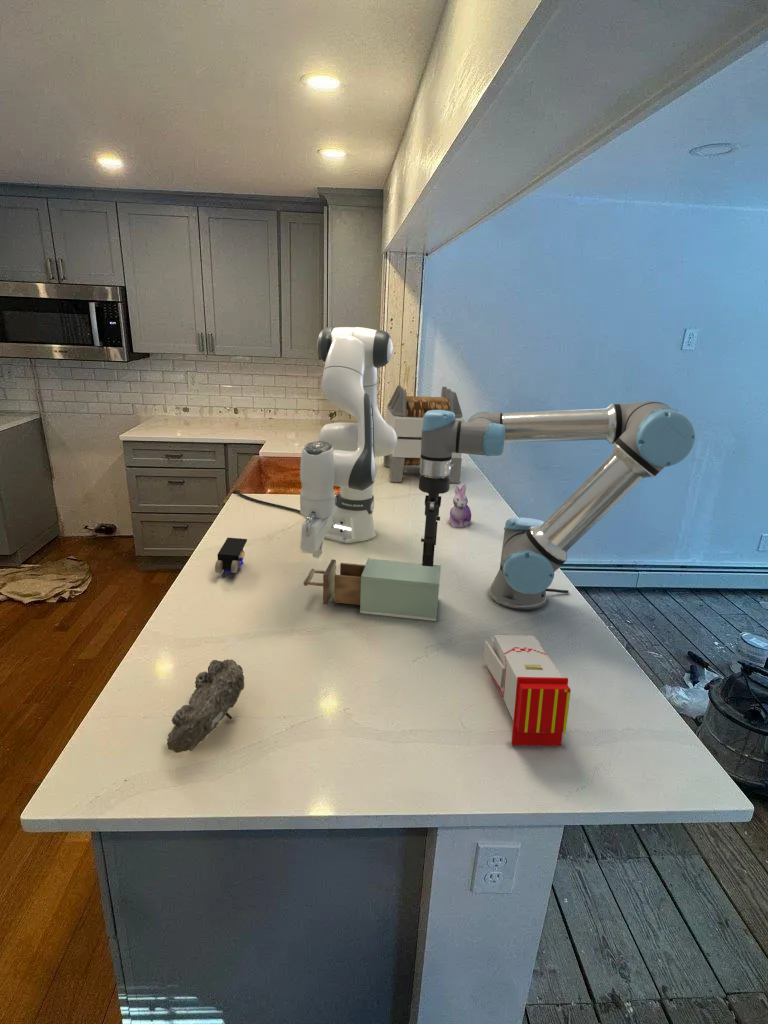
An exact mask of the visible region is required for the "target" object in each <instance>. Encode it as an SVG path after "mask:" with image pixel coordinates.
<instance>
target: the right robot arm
mask: <svg viewBox="0 0 768 1024" xmlns="http://www.w3.org/2000/svg"><path fill="white" fill-rule="evenodd" d="M695 432H696V431H695V428H694V425H693V423H692V422H691V420H690V419H689V418H688V417H687V416H686V415H685V414H684V413H683V412H681V411H679V410H678V409H676V408H673V407H671V406H669V405H668V404H666V403H664V402H661V401H656V400H655V401H654V400H653V401H652V400H645V401H636V402H626V403H611V404H609V406H607V407H606V408H588V409H587V408H586V409H567V410H566V409H564V410H563V409H561V410H541V411H538V410H537V411H515V412H493V413H492V412H488V411H485V410H482V411H478V412H475V413H474V414H473V415H471V416H470V418H469V419H468V420H467V421H464V422H462V421H456V419H455V414H454V413H453V412H451V411H445V410H430V411H427V412H426V413H425V414H424V418H423V427H422V439H421V456H420V466H419V475H418V476H419V477H418V489H419V491H421V492H423V493H426V494H428V495H426V494H425V498H424V516H425V521H424V534H423V538H420V542H421V543H423V544H422V545H423V547H422V561H421V563H422V566H431V567H433V565H434V563H435V562H434V561H435V547H436V546H437V537H438V536H437V535H438V522H441V516H440V508H441V505H442V496H441V494H442V495H443V494H446V493H448V492H449V491H450V484H451V483H450V477H449V476H448V475H450V470H451V467H450V466H454V464H453V463H452V462H451V459H452V452H454V453H461V454H467V455H477V456H485V457H500V456H502V455H503V453H504V449H505V443H529V442H530V443H534V442H537V443H538V442H568V441H569V442H570V441H571V442H573V441H577V442H578V441H607V442H608V443H609V444H610V445H613V451H612V453H611V455H609V456H608V457H607V458H606V459H605V460H604V461H603V463H601V464H600V465H599V467H598V468H596V469H595V470H594V471H593V473H591V475H590V476H589V477H587V478H586V479H585V481H584V482H583V483H582V484H580V486H579V487H578V488H577V489H575V490H574V491H573V493H571V495H570V496H569V497H568V498H567V499H565V501H564V502H563V503H561V505H559V507H558V508H557V509H556V510H555V511H554V512H553V513H552V514H551V515H550V516H549V517H548V518H547V519H546V520H545V521H544V520H540V519H536V518H531V517H522V516H521V517H511V518H508V519H507V520H506V521H505V525H504V528H503V532H504V533H503V539H502V547H501V555H500V561H499V562H500V563H499V569H498V571H497V573H496V575H495V577H494V579H493V581H492V583H491V586H490V589H489V595H490V598H491V599H492V600H493V601H494V602H495V603H496V604H498V605H500V606H503V607H504V608H508V609H511V610H516V611H534V610H538V609H541V608H542V607H544V606H545V604H546V602H547V592H550V593H560V594H569V590H567V589H566V590H565V589H556V588H549V587H550V586H551V585H552V583H553V580H554V578H555V572H556V571H558V569H559V568H561V567H562V566H563V565H564V563H565V562H567V561H568V551H569V550H570V548H572V547H573V546H574V545H575V544H577V542H578V541H579V540H580V539H581V538H583V536H585V534H586V533H588V532H589V531H590V529H592V528H593V527H594V526H595V525H596V524H597V523H598V522H599V521H600V520H601V519H602V518H603V517H604V516H605V515H606V514H607V513H608V512H609V511H611V509H612V508H614V507H615V506H616V505H617V504H618V503H619V502H620V501H621V500H622V499H623V498H624V497H625V496H626V495H627V494H628V493H629V492H630V491H631V490H632V489H633V488H634V487H635V486H637V484H639V483H640V482H641V481H642V480H643V479H646V478H647V479H648V478H655V477H656V476H657V475H659V473H661V471H662V470H664V468H666V467H671V466H675V465H676V464H680V463H681V462H683V460H685V459H686V458H687V457H688V456H689V454H690V453H691V452H692V450H693V448H694V445H695V440H696V433H695Z"/></svg>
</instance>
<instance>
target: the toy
mask: <svg viewBox="0 0 768 1024" xmlns="http://www.w3.org/2000/svg"><path fill="white" fill-rule="evenodd" d="M482 660H483V663H485V666H486V668H487V669H488V672H489V673H490V675H491V677H492V679H493V681H494V683H495V685H496V687H497V689H498V692H499V693H500V694H501V697H502V698H503V702H504V703H505V706H506V708H507V710H508V712H509V715H510V717H511V720H512V721H513V722H512V731H511V732H512V733H511V746H534V747H535V746H536V747H537V746H542V747H545V746H546V747H548V746H549V747H550V746H551V747H562V743H563V734H567V727H568V717H569V709H570V698H571V690H572V689H571V688H570V686H569V678H568V677H563V676H562V675H561V673H560V672H559V670H558V669H557V667H556V666H555V664H554V663H553V662H552V660H551V658H550V657H549V655H548V654H547V653H546V651H545V650H544V648H543V647H542V644H541V642H540V640H538V639H537V637H536V636H535V635H521V634H520V635H517V634H494V636H490V642H488V640H485V641H484V645H483V653H482Z"/></svg>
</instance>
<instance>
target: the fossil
mask: <svg viewBox="0 0 768 1024" xmlns="http://www.w3.org/2000/svg"><path fill="white" fill-rule="evenodd" d="M243 670H244V669H243V667H242V665H240V664H237V662H236V661H235V660H234V659H232V658H231V659H227V658H226V659H224V660H223V661H222V660H217V659H212V660H211V661H210V663H209V665H208V666H207V671H201V672H199V673H198V674H197V675H196V676H195V680H194V684H195V685H194V687H195V689H194V690H193V693H192V694H191V697H190V698H189V700H188V704H184V705H182V706H181V707H180V709H177V710H176V711H175V713H174V715H173V716H172V718H171V723H172V724H173V727H172V730H171V731H170V732H168V734H167V738H166V741H167V742H166V745H167V749H168V750H169V751H173V752H174V753H176V754H178V753H182V752H188V751H189V752H192V751H193V750H195V748H196V747H197V746H199V744H200V743H201V742H203V741H204V740H205V739H206V738H207V737H208V736H209V735H210V734H211V733H212V732H214V730H215V729H217V727H218V726H219V724H220V722H221V721H222V720H223V719H224V718H225V716H226V717H227V719H229V720H233V717H232V715H230V714H229V710H230V709H231V708H234V706H235V704H236V703H237V702H238V699H239V697H240V695H241V693H242V691H243V690H245V689H244V688H245V675H244V671H243Z"/></svg>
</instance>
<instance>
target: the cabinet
mask: <svg viewBox="0 0 768 1024" xmlns="http://www.w3.org/2000/svg"><path fill="white" fill-rule="evenodd" d="M364 565H365V568H364V570H363V573H362V575H361V595H360V605H359V614H366V615H375V616H385V617H394V618H403V619H405V618H406V619H414V620H421V621H422V620H424V621H433V622H437V617H438V616H437V614H438V604H439V594H440V579H441V569H442V565H441V564H433V567H431V566H422V562H421V563H420V562H409V561H402V560H401V561H400V560H390V559H389V560H388V559H378V558H367V559H366V562H365V564H364Z"/></svg>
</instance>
